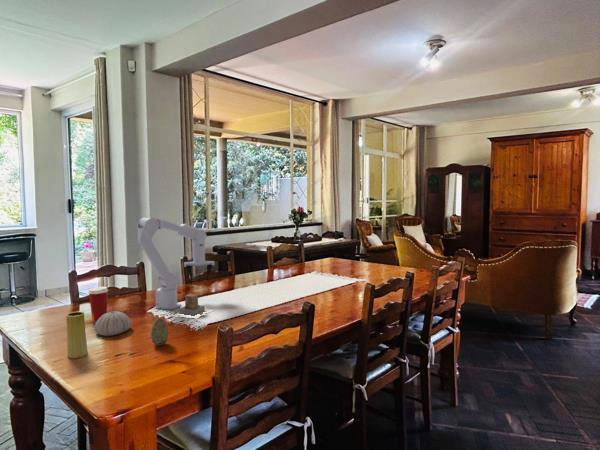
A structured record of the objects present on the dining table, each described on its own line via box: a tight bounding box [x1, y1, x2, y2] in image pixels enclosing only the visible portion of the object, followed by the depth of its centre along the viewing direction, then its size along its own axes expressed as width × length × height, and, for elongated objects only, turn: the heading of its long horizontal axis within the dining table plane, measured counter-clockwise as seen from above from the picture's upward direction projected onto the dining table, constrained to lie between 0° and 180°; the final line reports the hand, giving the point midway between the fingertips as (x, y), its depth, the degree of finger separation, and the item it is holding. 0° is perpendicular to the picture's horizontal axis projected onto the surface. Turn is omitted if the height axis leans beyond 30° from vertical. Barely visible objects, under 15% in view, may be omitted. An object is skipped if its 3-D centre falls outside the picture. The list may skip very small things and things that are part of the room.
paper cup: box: [87, 286, 109, 324], centre depth 174 cm, size 8×8×14 cm
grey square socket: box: [169, 304, 212, 317], centre depth 183 cm, size 14×14×4 cm
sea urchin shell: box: [93, 310, 132, 337], centre depth 160 cm, size 13×14×8 cm
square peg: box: [184, 293, 199, 309], centre depth 183 cm, size 4×4×8 cm
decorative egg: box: [150, 317, 169, 347], centre depth 146 cm, size 6×6×10 cm
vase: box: [65, 311, 89, 359], centre depth 137 cm, size 6×6×14 cm
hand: (199, 280), depth 203 cm, fingers open, 7 cm apart
